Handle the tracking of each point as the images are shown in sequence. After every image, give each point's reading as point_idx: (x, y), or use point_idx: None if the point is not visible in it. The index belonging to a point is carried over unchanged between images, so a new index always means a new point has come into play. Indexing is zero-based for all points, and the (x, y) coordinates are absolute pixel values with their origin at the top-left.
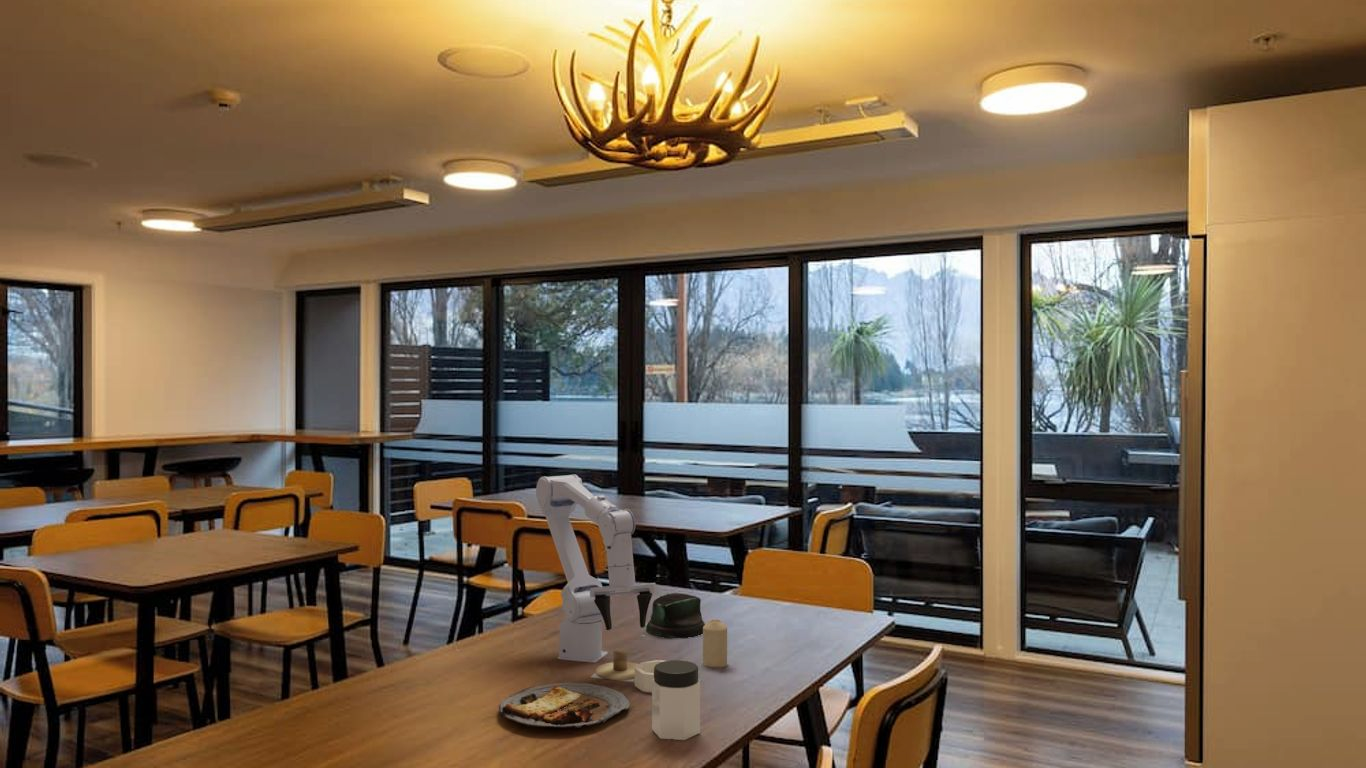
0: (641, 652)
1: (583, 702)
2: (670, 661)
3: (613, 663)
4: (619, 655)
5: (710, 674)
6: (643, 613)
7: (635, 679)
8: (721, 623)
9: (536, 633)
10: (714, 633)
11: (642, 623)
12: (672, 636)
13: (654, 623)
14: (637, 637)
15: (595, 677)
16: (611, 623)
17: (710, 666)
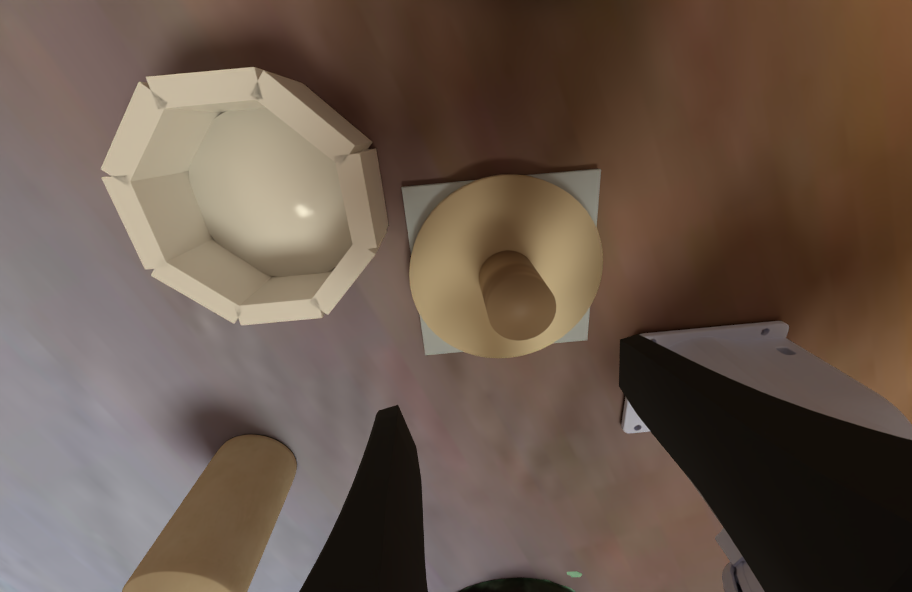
0: (525, 474)
1: None
2: None
3: (534, 267)
4: (508, 275)
5: (211, 386)
6: (347, 505)
7: (358, 137)
8: None
9: None
10: (156, 559)
11: (375, 428)
12: (491, 587)
13: None
14: (584, 559)
15: (576, 173)
16: (638, 415)
17: (247, 437)
